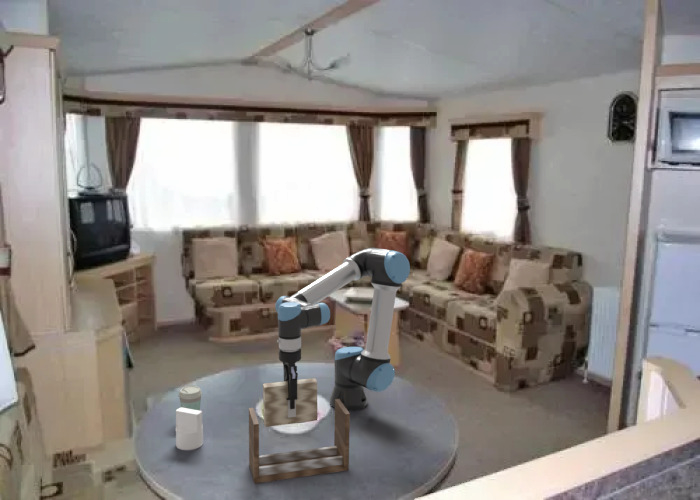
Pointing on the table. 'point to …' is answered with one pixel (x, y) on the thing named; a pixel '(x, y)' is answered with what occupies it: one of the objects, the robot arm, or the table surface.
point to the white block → (189, 429)
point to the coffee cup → (190, 397)
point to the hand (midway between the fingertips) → (290, 414)
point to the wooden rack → (301, 453)
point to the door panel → (278, 404)
